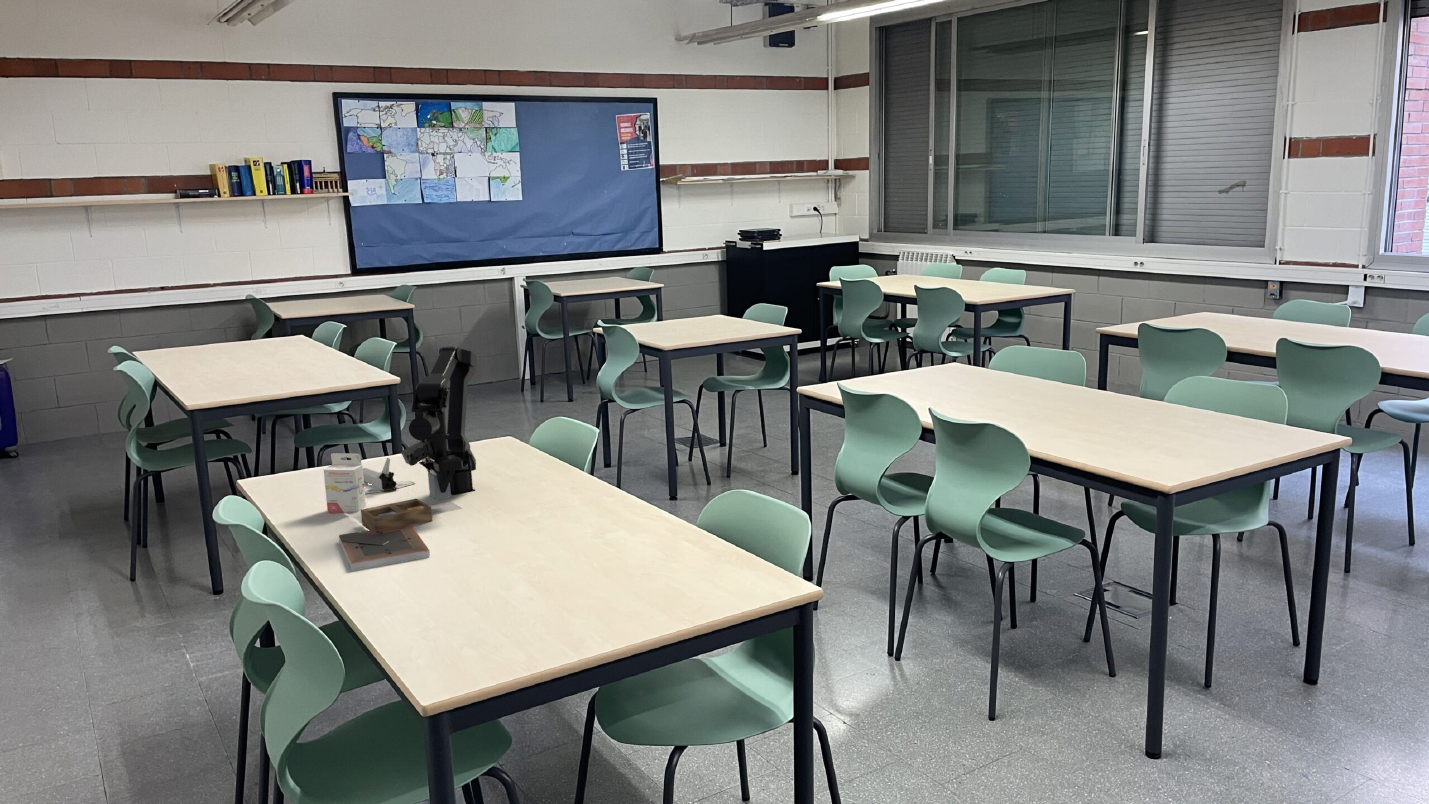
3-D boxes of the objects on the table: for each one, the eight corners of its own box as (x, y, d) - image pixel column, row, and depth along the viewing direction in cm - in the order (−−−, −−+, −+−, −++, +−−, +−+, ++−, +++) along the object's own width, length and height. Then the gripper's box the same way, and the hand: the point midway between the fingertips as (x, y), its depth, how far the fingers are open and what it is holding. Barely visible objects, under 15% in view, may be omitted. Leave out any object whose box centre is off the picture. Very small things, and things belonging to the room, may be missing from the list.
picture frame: (339, 544, 239) (352, 573, 220) (338, 534, 238) (351, 562, 219) (411, 532, 246) (430, 559, 227) (410, 523, 245) (429, 549, 227)
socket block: (417, 513, 259) (416, 497, 258) (432, 522, 251) (431, 506, 250) (362, 525, 250) (360, 508, 250) (376, 535, 243) (374, 518, 242)
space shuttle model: (386, 471, 303) (383, 438, 301) (420, 488, 283) (417, 453, 281) (334, 481, 293) (330, 447, 291) (365, 499, 274) (361, 463, 272)
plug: (444, 493, 263) (442, 467, 262) (451, 496, 260) (448, 470, 259) (429, 496, 261) (427, 470, 259) (435, 499, 258) (433, 473, 256)
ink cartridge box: (326, 513, 261) (320, 457, 258) (335, 507, 266) (329, 453, 263) (358, 513, 260) (353, 457, 257) (367, 507, 265) (361, 452, 262)
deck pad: (450, 503, 267) (450, 501, 267) (462, 510, 260) (462, 508, 260) (420, 509, 262) (420, 507, 262) (432, 516, 256) (432, 514, 256)
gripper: (390, 430, 260) (396, 489, 263) (417, 442, 245) (423, 505, 248) (432, 423, 266) (437, 481, 269) (461, 435, 251) (466, 496, 255)
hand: (439, 490), depth 260 cm, fingers closed on plug, 4 cm apart
